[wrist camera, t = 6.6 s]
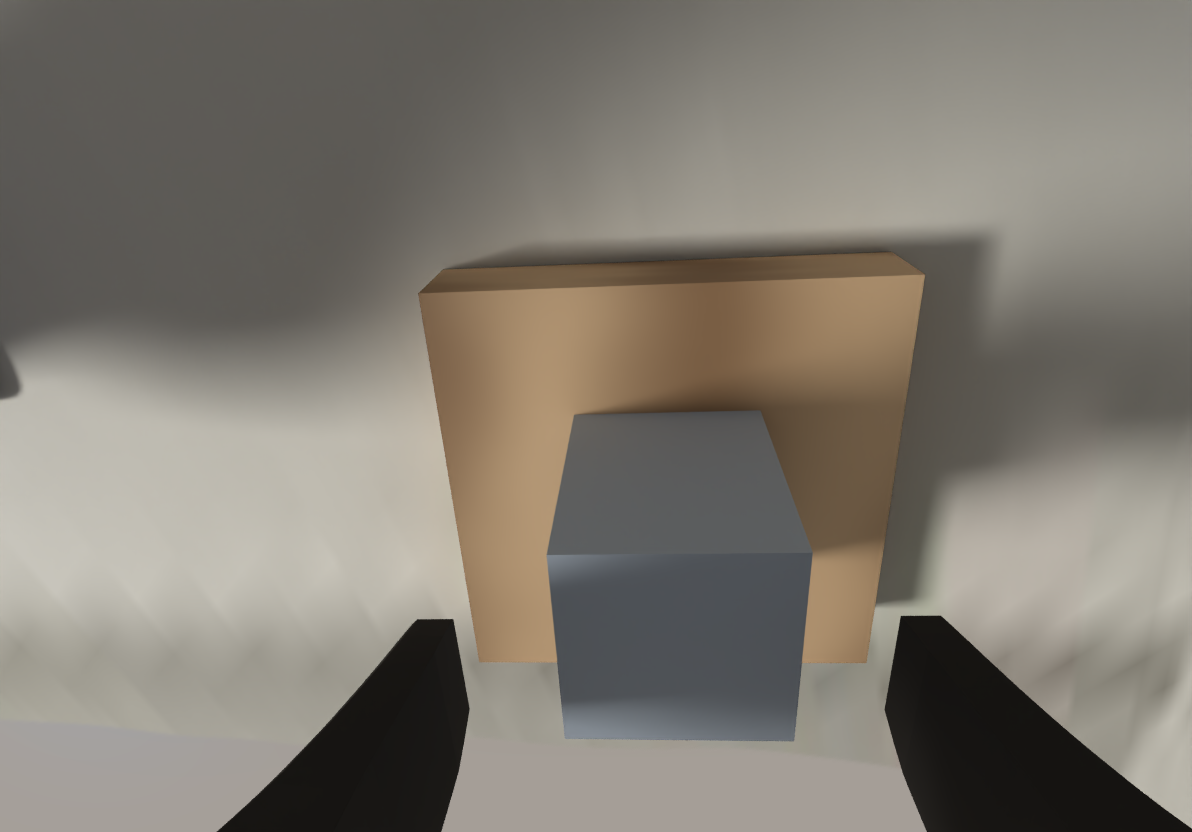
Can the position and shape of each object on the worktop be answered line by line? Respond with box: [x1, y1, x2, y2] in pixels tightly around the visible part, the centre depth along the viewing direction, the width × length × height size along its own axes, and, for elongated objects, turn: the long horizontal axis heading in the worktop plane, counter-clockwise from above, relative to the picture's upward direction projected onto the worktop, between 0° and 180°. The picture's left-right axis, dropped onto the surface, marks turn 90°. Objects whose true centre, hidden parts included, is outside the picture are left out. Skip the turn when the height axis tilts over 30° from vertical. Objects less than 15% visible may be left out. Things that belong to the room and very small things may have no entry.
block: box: [547, 410, 813, 741], centre depth 14 cm, size 4×4×5 cm
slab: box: [418, 252, 925, 663], centre depth 17 cm, size 10×10×2 cm
